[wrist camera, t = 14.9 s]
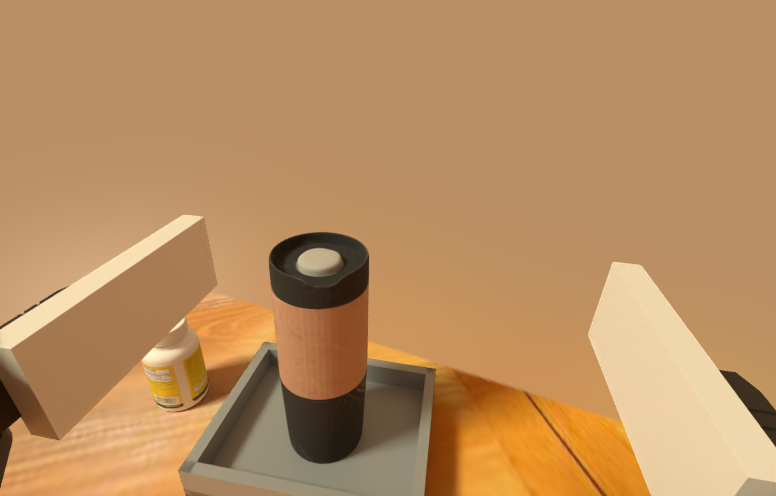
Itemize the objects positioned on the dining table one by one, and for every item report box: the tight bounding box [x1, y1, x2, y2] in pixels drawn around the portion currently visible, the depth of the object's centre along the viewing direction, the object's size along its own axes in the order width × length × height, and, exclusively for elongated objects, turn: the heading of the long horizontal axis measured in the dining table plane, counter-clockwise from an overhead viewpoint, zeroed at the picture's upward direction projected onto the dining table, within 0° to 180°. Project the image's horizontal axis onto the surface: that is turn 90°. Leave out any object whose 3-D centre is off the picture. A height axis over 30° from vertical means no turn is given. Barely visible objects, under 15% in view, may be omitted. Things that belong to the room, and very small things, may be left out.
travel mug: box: [269, 232, 369, 464], centre depth 35 cm, size 8×8×20 cm
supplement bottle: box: [141, 317, 209, 412], centre depth 42 cm, size 5×5×10 cm
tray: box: [178, 342, 436, 496], centre depth 39 cm, size 20×16×4 cm
